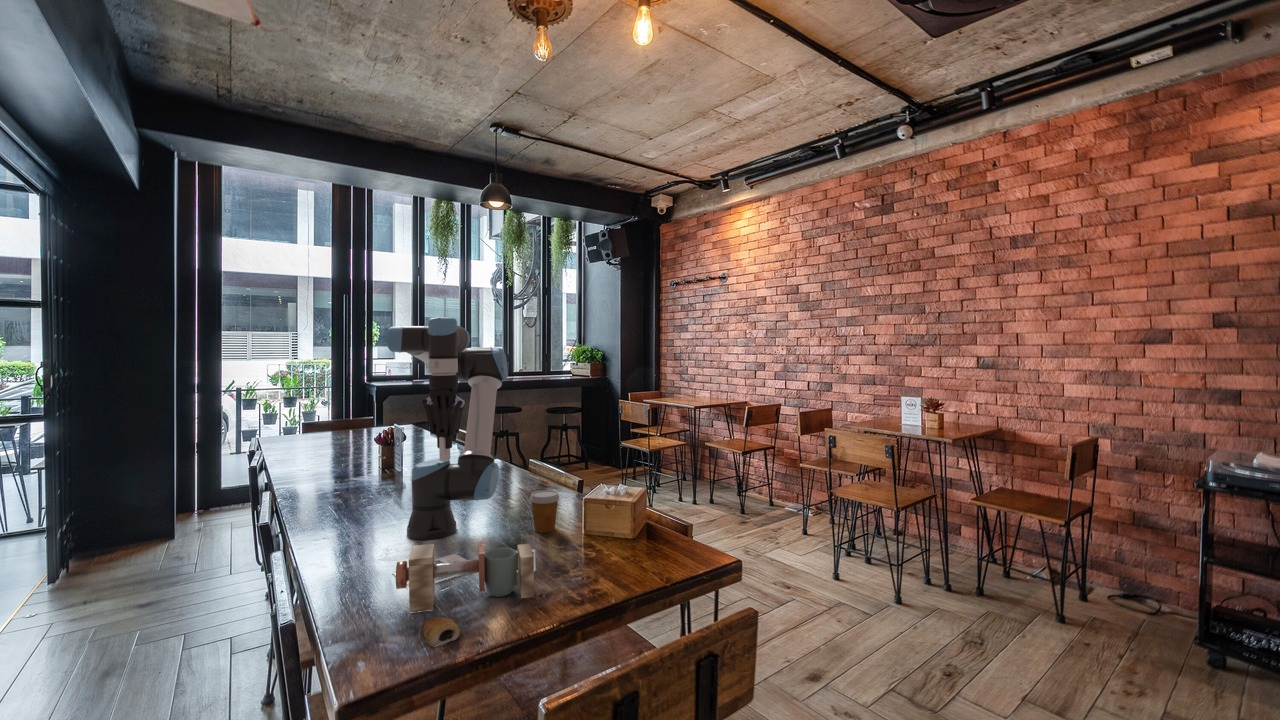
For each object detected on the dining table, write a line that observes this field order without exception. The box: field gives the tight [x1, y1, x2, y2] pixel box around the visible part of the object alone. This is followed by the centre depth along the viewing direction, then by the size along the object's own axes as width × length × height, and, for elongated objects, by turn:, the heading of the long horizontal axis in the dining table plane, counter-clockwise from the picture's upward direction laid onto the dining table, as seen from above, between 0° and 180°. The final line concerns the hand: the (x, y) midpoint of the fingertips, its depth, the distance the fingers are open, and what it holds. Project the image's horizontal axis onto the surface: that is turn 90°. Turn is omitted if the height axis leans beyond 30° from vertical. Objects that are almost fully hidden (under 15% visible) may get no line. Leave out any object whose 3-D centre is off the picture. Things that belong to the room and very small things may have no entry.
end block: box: [517, 543, 535, 600], centre depth 141 cm, size 3×9×10 cm, turn 17°
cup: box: [484, 547, 518, 598], centre depth 139 cm, size 8×8×10 cm
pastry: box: [423, 617, 461, 647], centre depth 120 cm, size 9×7×4 cm
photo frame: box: [392, 553, 469, 584], centre depth 153 cm, size 15×1×18 cm
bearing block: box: [408, 543, 436, 613], centre depth 134 cm, size 5×9×12 cm, turn 17°
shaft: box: [395, 540, 486, 593], centre depth 135 cm, size 20×9×9 cm, turn 107°
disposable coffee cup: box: [529, 489, 560, 534], centre depth 186 cm, size 10×10×12 cm
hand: (445, 460), depth 156 cm, fingers closed
